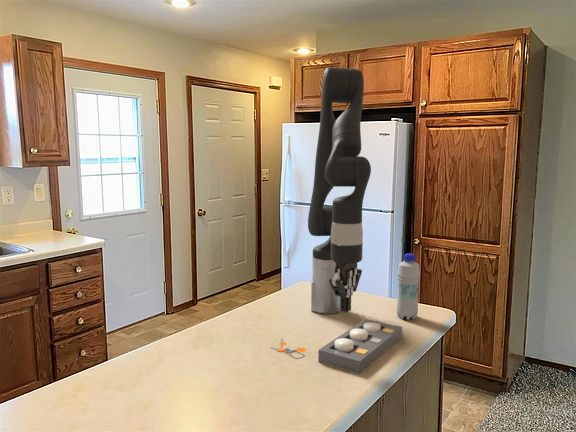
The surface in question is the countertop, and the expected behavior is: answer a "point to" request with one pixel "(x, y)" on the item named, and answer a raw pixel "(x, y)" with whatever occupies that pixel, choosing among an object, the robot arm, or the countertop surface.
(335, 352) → the panel
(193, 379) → the countertop surface
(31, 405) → the countertop surface
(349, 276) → the robot arm
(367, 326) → the button back
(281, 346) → the key chain
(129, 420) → the countertop surface
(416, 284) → the bottle
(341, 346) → the button front
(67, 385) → the countertop surface
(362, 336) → the button middle
